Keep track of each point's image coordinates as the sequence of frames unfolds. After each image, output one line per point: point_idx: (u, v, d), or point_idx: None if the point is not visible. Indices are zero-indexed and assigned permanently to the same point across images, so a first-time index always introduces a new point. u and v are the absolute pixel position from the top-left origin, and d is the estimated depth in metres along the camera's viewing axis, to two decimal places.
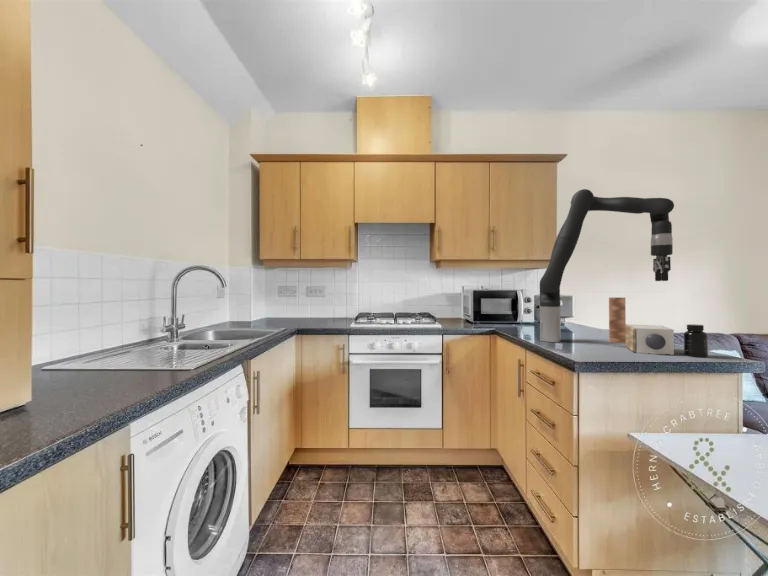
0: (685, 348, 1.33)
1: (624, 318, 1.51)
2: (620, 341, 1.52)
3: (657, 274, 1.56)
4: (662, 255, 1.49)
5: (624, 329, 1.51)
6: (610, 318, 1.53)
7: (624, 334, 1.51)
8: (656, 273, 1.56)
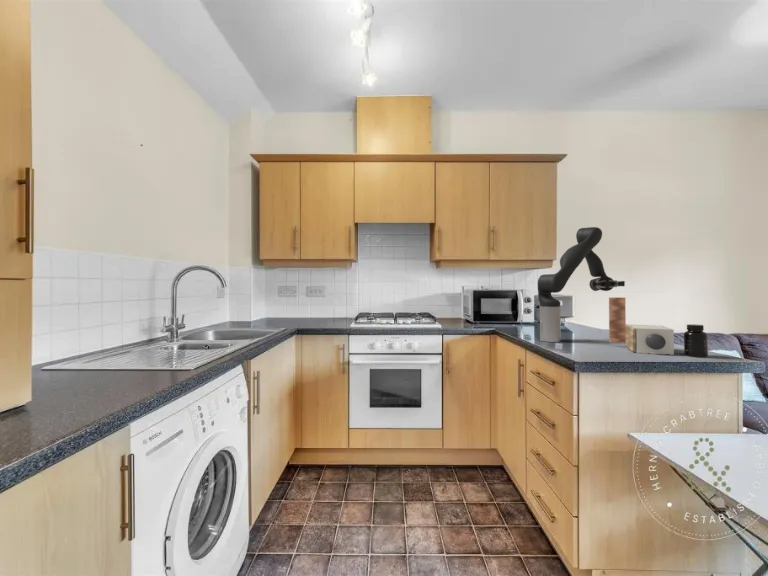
0: (685, 348, 1.33)
1: (624, 318, 1.51)
2: (620, 341, 1.52)
3: None
4: None
5: (624, 329, 1.51)
6: (610, 318, 1.53)
7: (624, 334, 1.51)
8: None
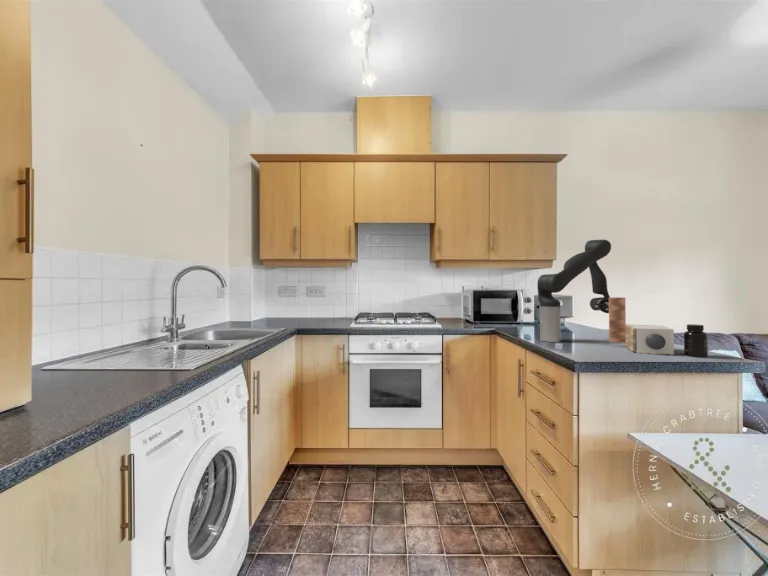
0: (685, 348, 1.33)
1: (624, 318, 1.51)
2: (620, 341, 1.52)
3: None
4: None
5: (624, 329, 1.51)
6: (610, 318, 1.53)
7: (624, 334, 1.51)
8: None
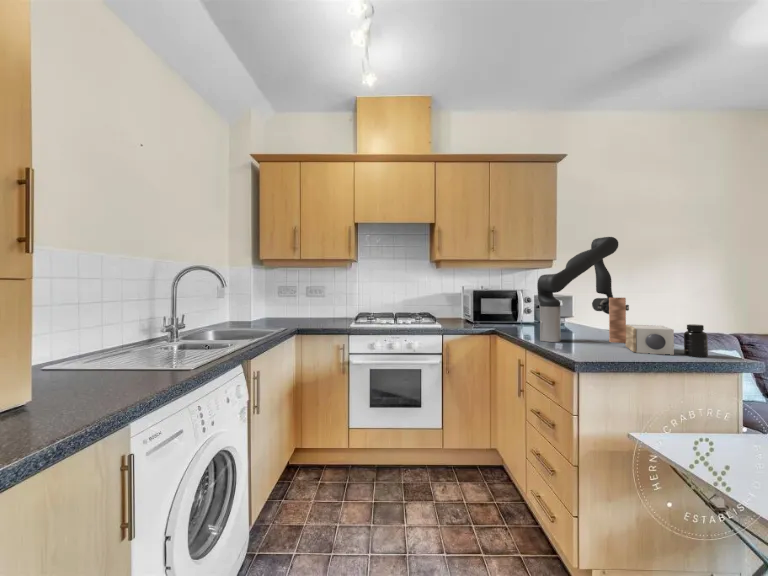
0: (685, 348, 1.33)
1: (624, 318, 1.51)
2: (620, 341, 1.51)
3: None
4: None
5: (624, 329, 1.51)
6: (610, 318, 1.53)
7: (624, 334, 1.51)
8: None
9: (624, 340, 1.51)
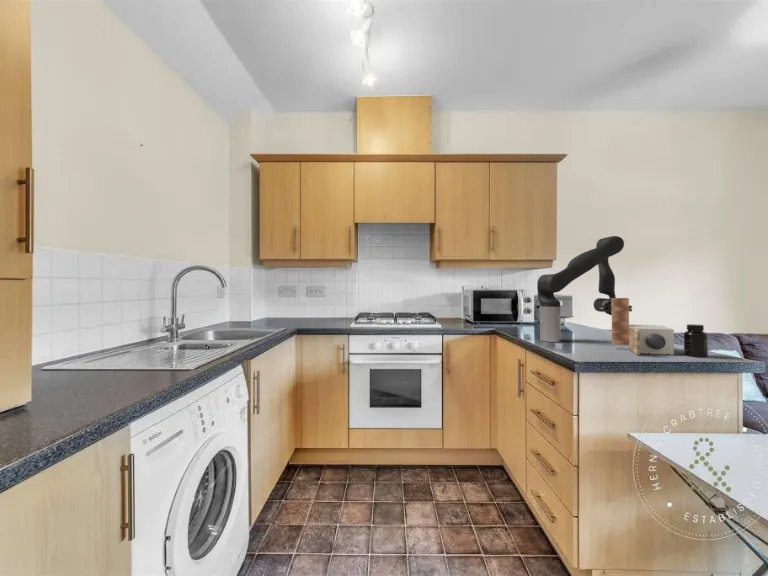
0: (685, 348, 1.33)
1: (627, 319, 1.45)
2: (623, 343, 1.46)
3: None
4: None
5: (627, 331, 1.45)
6: (613, 319, 1.47)
7: (627, 336, 1.45)
8: None
9: (627, 342, 1.45)
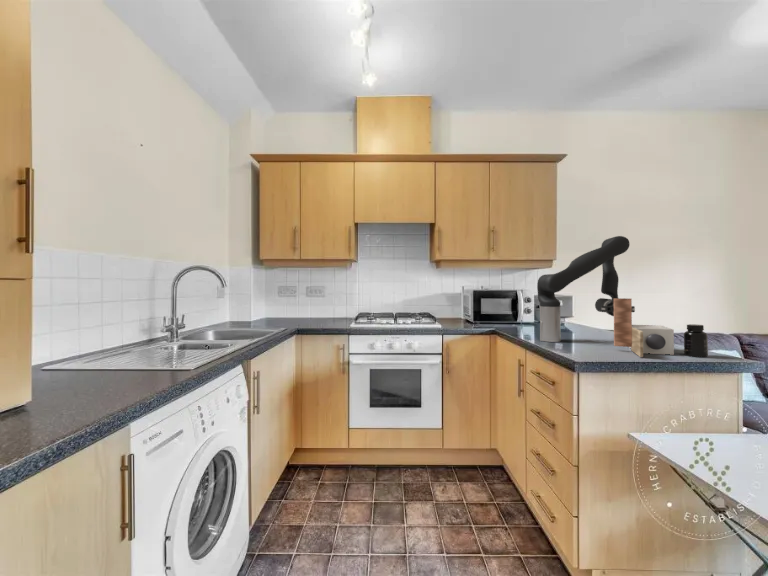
0: (685, 348, 1.33)
1: (630, 320, 1.41)
2: (626, 345, 1.42)
3: None
4: None
5: (630, 332, 1.41)
6: (615, 320, 1.43)
7: (630, 338, 1.41)
8: None
9: (630, 344, 1.41)
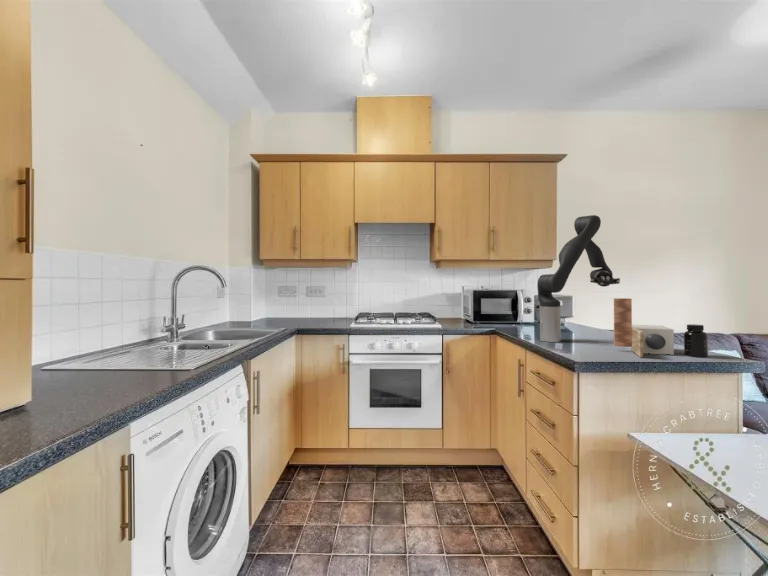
0: (685, 348, 1.33)
1: (630, 320, 1.41)
2: (626, 345, 1.42)
3: None
4: (613, 278, 1.71)
5: (630, 332, 1.41)
6: (615, 320, 1.43)
7: (630, 338, 1.41)
8: None
9: (630, 344, 1.41)
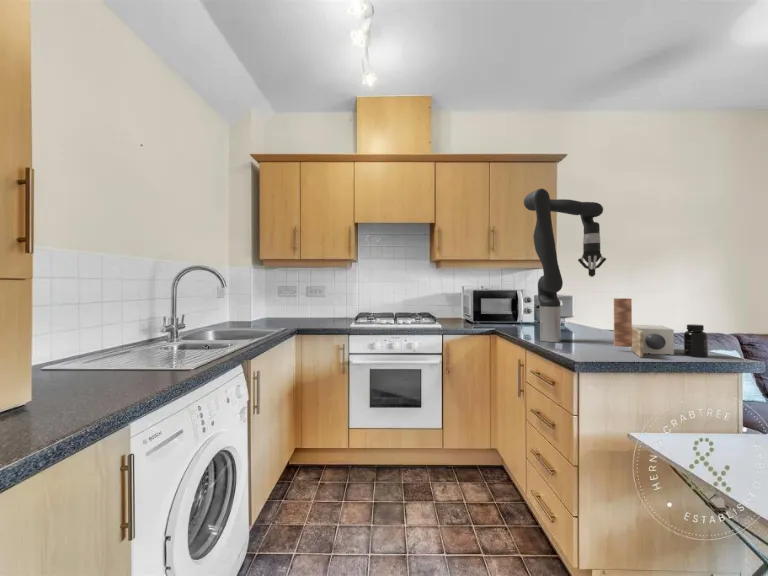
0: (685, 348, 1.33)
1: (630, 320, 1.41)
2: (626, 345, 1.42)
3: None
4: None
5: (630, 332, 1.41)
6: (615, 320, 1.43)
7: (630, 338, 1.41)
8: None
9: (630, 344, 1.41)
